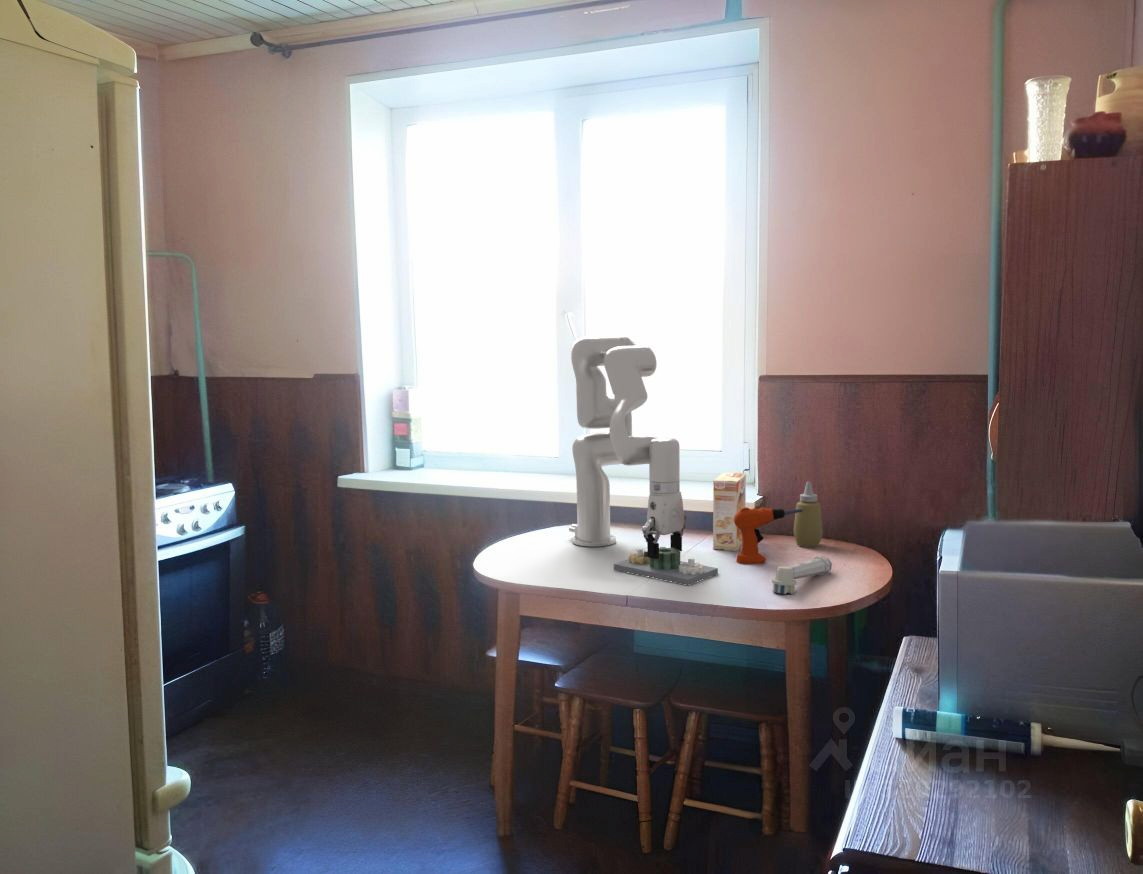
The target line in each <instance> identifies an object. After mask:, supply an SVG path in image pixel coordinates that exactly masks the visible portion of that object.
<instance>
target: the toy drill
mask: <svg viewBox="0 0 1143 874" xmlns="http://www.w3.org/2000/svg"><path fill="white" fill-rule="evenodd" d="M798 512H803V509H796V508H795V509H789V510H787V509H786V510H785V509H784V508H783V509H782V508H777V509H776V508H773V509H772V508H766V507H763V506H762V507H760V508H756V507H753V508H749V507H746V506H745V508H742V509H741V510H740V511H739V512H738V513H736V515H735V516H734V523H735V525H736V526H737V527H738V528H739V529H740V530H741V533H742V544H741V547H740V548H741V549H740V552H739V553H737V554H736V562H737V563H738V564H742V563H743V564H744V565H758V564H761V563H762V564H765V563H766V561H767V557H766V556H765V555H764V554H762V553H760V552H759V543H761V542H762V541H763V540H764V536H762V534H761V532H760V530H759V529H758V528H761V527H762V526H764V525H767V524H769V523H771V522H774V521H775V520H778V519H784V518H785V516H788V515H791V514H795V513H798ZM743 564H742V565H743ZM762 564H761V565H762Z"/></svg>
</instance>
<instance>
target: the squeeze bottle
mask: <svg viewBox="0 0 1143 874" xmlns="http://www.w3.org/2000/svg"><path fill="white" fill-rule="evenodd" d="M813 490H814V489H813V485H812V482H811V481H806V483H805V487H804V491H803V493H801V494H799V501H798V502H796V505H795V509H803V512H798V513H794V521H793V536H794V538H795V542H796V544H797V546H799V547H805V548H815V547H818V546H820V542H821V540H822V537H823V533H824V530H823V520H822V517H823V516H822V509H821V504H820V503H819V502H818V494H815V493H814V491H813Z"/></svg>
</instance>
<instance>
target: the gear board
mask: <svg viewBox="0 0 1143 874" xmlns="http://www.w3.org/2000/svg"><path fill="white" fill-rule="evenodd" d="M627 557H628V559H624V560H622V561H618V562H616V563H615V562H614V563H613V570H614V571H617V570H619V572H622V571H623V573H627V572H629V573H628V574H631V573H633V574H632V575H636V574H638V575H637V576H641V575H644V576H643V577H645V576H649V577H648V578H650V577H654V578H653V579H655V578H658V579H657V580H659V579H662V580H661V581H664V580H667V581H666V582H669V581H672V582H671V583H673V582H676V583H675V584H678V583H681V584H680V585H683V584H686V585H685V586H687V585H688V586H690V585H689V584H691V585H693V584H692V583H694V584H696V583H698V582H697V581H699V582H700V580H701V581H703V580H702V579H704V580H706V579H708V577H709V578H711V577H710V576H712V577H714V576H716V574H717V575H719V567H718V568H717V567H715V566H714V567H713V566H708V565H704V564H701V563H700V562H695V558H688V559H687V561H684V560H683V561H682V560H680V565H679V568H677V569H670V570H664V569H659V570H658V569H654V567H650V558H648V556H647V551H644V549H642V548H638V549H636V552H635V553H633V552H632V553H629V555H628V556H627ZM713 575H714V576H713ZM705 578H706V579H705ZM695 582H696V583H695Z"/></svg>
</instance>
